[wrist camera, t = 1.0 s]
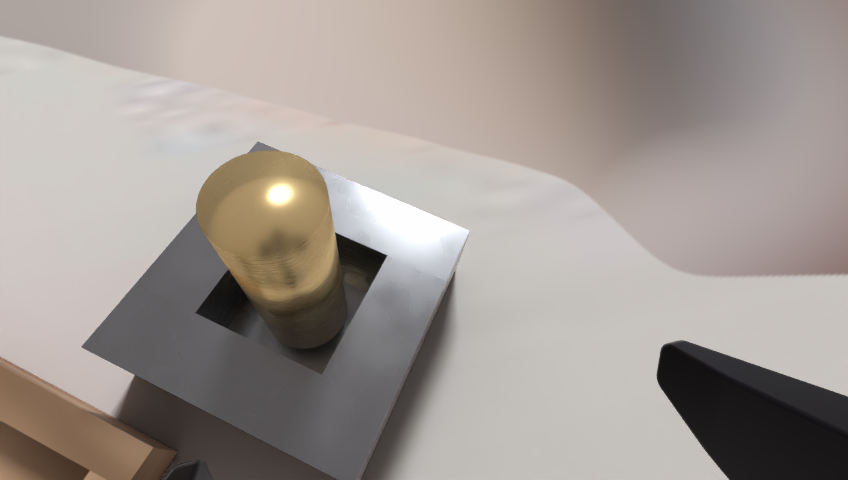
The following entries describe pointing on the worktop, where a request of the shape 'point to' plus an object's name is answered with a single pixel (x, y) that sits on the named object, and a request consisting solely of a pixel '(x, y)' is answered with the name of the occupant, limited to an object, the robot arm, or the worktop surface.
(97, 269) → the worktop surface
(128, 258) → the worktop surface
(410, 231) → the chuck socket
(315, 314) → the tan rounded piece
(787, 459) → the robot arm
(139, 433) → the walnut tray
